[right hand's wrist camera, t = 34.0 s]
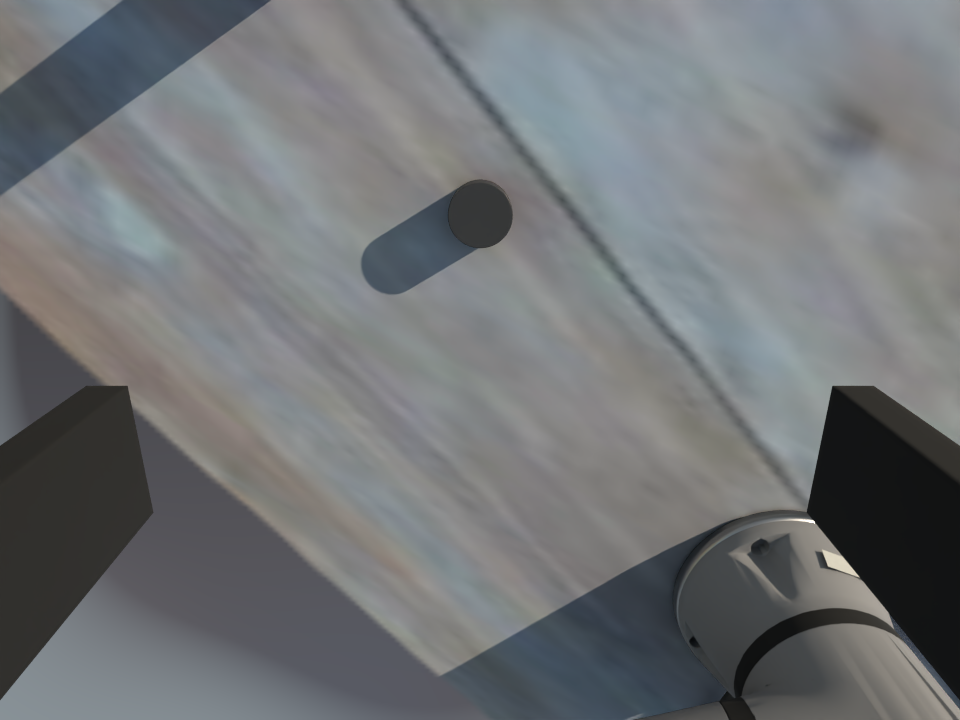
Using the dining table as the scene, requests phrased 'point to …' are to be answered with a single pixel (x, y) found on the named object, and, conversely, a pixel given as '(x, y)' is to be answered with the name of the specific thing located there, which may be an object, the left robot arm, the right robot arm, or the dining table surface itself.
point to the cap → (480, 214)
